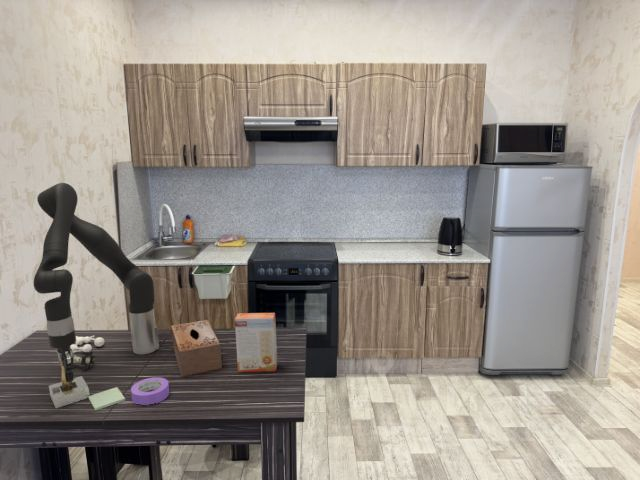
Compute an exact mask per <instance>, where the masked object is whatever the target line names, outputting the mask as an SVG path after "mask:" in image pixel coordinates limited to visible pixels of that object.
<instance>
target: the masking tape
mask: <svg viewBox="0 0 640 480" xmlns="http://www.w3.org/2000/svg"><path fill="white" fill-rule="evenodd" d="M169 384H170V383H169V380H168V379H167V378H165V377H157V376H156V377H148V378H145V379H142V380H139V381H137V382H136V383H134V384H133V385H132V386H131V387H130V388H131V389H130V394H131V402H132V403H133V402H134V403H136V404H141V405H147V406H150V405H149V404H153V405H155V404H154V403H156V404H159V403H161V402H163V401H164V400H166V399H167V398H168V397H169V396H170V385H169ZM151 390H152V391H151ZM158 402H159V403H158ZM134 403H133V404H134ZM136 404H135V405H136ZM141 405H140V406H141Z"/></svg>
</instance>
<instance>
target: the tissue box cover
mask: <svg viewBox="0 0 640 480" xmlns="http://www.w3.org/2000/svg"><path fill="white" fill-rule="evenodd" d="M170 327H171V337H172V349H173V352H175V353H174V356H175V359H176V362H177V366H178V370H179V369H180V370H179V372H180V376H181V377H182V376H183V377H188V376H192V374H193V375H197V374H201V373H206V372H211V371H216V370H220V369H222V367H223V365H222V349H221V343H220V341H219V338H218V337H217V335H216V334H215V332H214V330H213V328H212V326H211V323H210V322H209V320H208V319H202V320H198V321H192V322H186V323H178V324H174V325H171V326H170ZM187 375H188V376H187Z"/></svg>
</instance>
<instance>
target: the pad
mask: <svg viewBox="0 0 640 480" xmlns="http://www.w3.org/2000/svg"><path fill="white" fill-rule="evenodd" d="M87 399H88V400H89V402H90V403H91V404H90V405H92V406H91V407H93V409H94V411H98V410H102V409H104V408H107V407H110V406H113V405H116V404H118V403H122V402H125V401H126V397H124V395H123V393H122V392H121V390H120V389H119V388H118V386H116V387H113V388H110V389H106V390H104V391H101V392H97V393H94V394H90V396H88V398H87Z"/></svg>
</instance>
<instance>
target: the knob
mask: <svg viewBox="0 0 640 480" xmlns="http://www.w3.org/2000/svg"><path fill="white" fill-rule="evenodd" d="M74 355H75V352H73V354H72V356H73V358H74ZM70 357H71V356H70ZM61 382H62V391H63V392H64V391H67V390H70V389H72V381H71V382H66V378H65V372H64V368H63V366H62V367H61Z"/></svg>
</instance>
